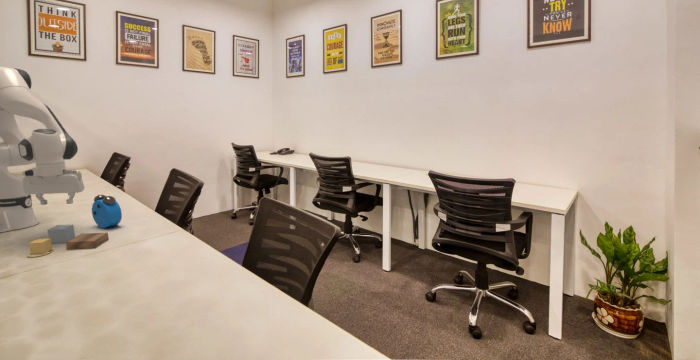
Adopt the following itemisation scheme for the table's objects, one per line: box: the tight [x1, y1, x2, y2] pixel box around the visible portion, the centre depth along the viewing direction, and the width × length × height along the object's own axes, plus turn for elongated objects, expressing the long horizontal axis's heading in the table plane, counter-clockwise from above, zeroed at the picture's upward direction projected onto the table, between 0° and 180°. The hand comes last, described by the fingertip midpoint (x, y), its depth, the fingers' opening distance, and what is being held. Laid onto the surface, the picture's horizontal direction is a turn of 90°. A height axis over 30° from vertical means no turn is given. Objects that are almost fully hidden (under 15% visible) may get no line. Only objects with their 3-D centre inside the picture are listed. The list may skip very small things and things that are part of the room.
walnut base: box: [65, 232, 109, 251], centre depth 139 cm, size 10×10×3 cm
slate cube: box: [46, 224, 76, 244], centre depth 142 cm, size 6×6×6 cm
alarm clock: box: [91, 194, 123, 229], centre depth 159 cm, size 13×6×15 cm, turn 65°
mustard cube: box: [28, 237, 53, 255], centre depth 131 cm, size 4×4×4 cm
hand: (57, 204), depth 140 cm, fingers open, 8 cm apart
